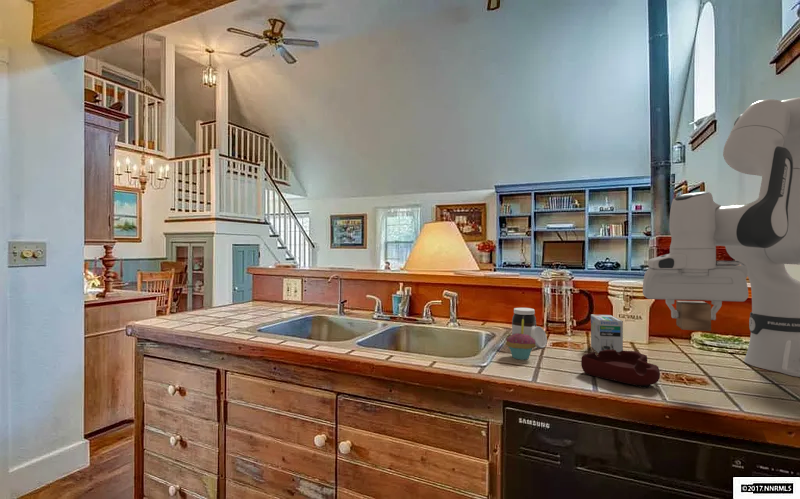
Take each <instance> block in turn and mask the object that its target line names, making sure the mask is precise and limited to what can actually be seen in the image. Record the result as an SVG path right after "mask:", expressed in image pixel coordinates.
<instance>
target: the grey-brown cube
mask: <svg viewBox="0 0 800 499" xmlns="http://www.w3.org/2000/svg"><path fill="white" fill-rule="evenodd" d="M711 309H712V304H711V303H710V304H709V303H708V302H705V301H704V300H675V310H678V311H680V319H679V318H675V319H676V320H675V321H676V322H675V324H676V326H677V327H679V329H681V330H684V331H686V330H687V331H701V332H704V331H705V332H711V331H712V320H711Z"/></svg>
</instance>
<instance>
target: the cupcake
mask: <svg viewBox="0 0 800 499" xmlns="http://www.w3.org/2000/svg"><path fill="white" fill-rule="evenodd" d="M523 317H524V316H523ZM523 332H524V319H522V326H521V333H520V334H519V333H518V334H517V333H515V334H512V333H511V334H510V335H509V336H508V337H507V338H506V340H505V345H506V346H507V347H508V348H509V350H510V351H509V352H510V353H511V356H512V358H513V359H516V360H523V361H524V360H528V359H529V358H530V356H531V354H532V353H531V352H532V350H533V349H535V348H537V347H536V343H535V339H533V337H531V336H529V335H526V334H523Z"/></svg>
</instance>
